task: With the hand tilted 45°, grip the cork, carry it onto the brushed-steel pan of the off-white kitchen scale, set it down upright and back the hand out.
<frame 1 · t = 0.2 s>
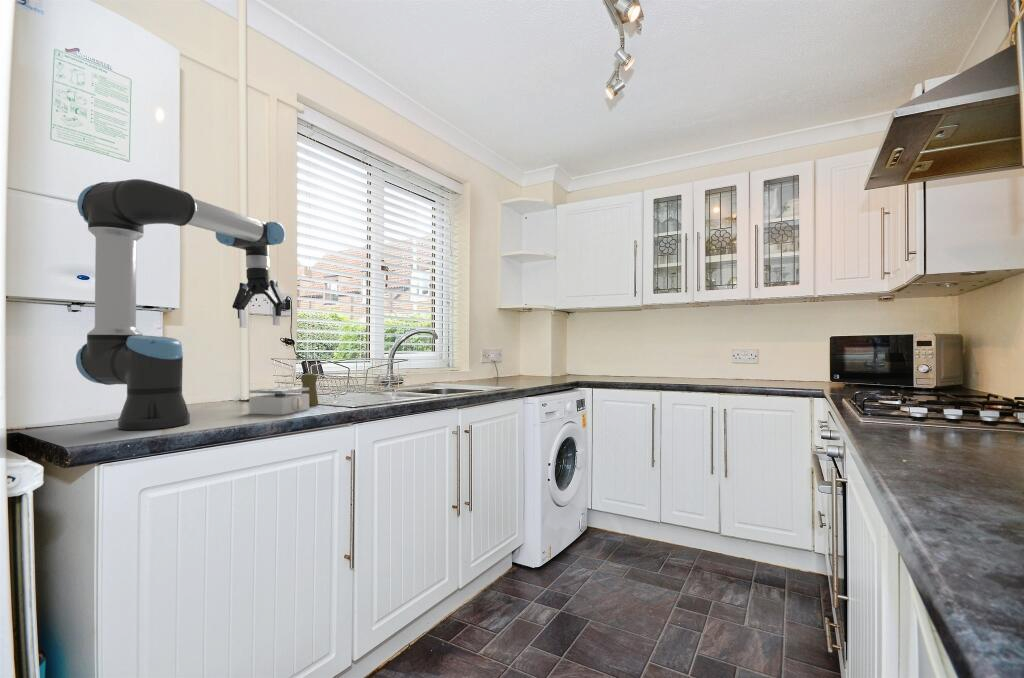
hand: (259, 326, 177), 28 cm above the countertop, tool pointing down, fingers open, 13 cm apart
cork: (309, 406, 167), on the countertop
scale pan: (280, 390, 153), point 7 cm above the countertop, slide at 0.6 cm
kitchen scale: (280, 411, 152), on the countertop
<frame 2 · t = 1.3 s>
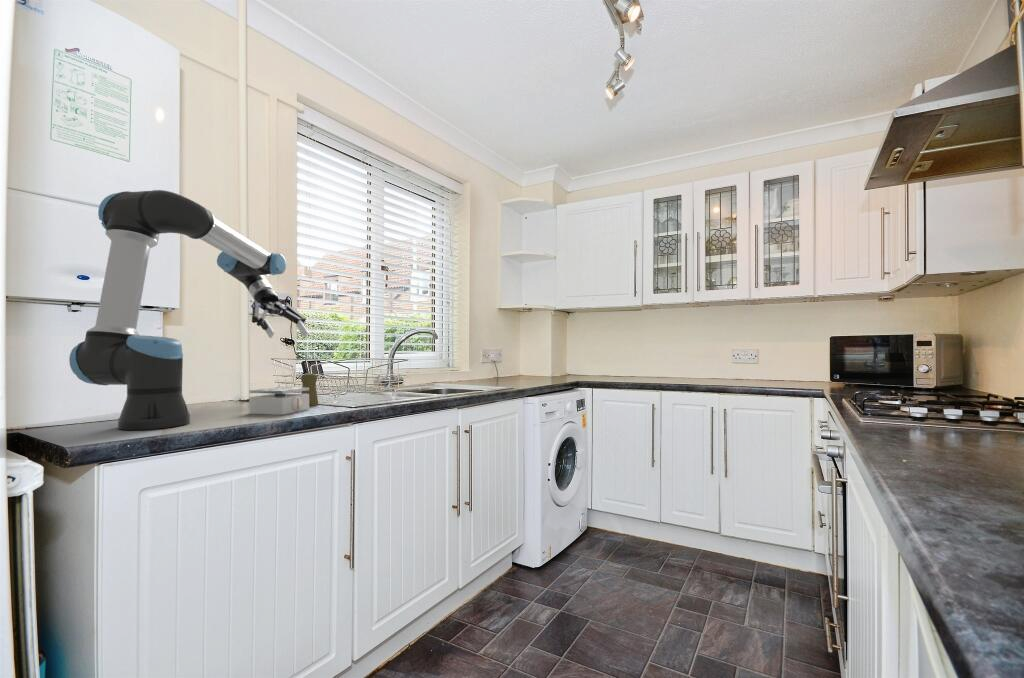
hand: (290, 335, 173), 24 cm above the countertop, tool tilted 45°, fingers open, 13 cm apart
nothing on the countertop moved.
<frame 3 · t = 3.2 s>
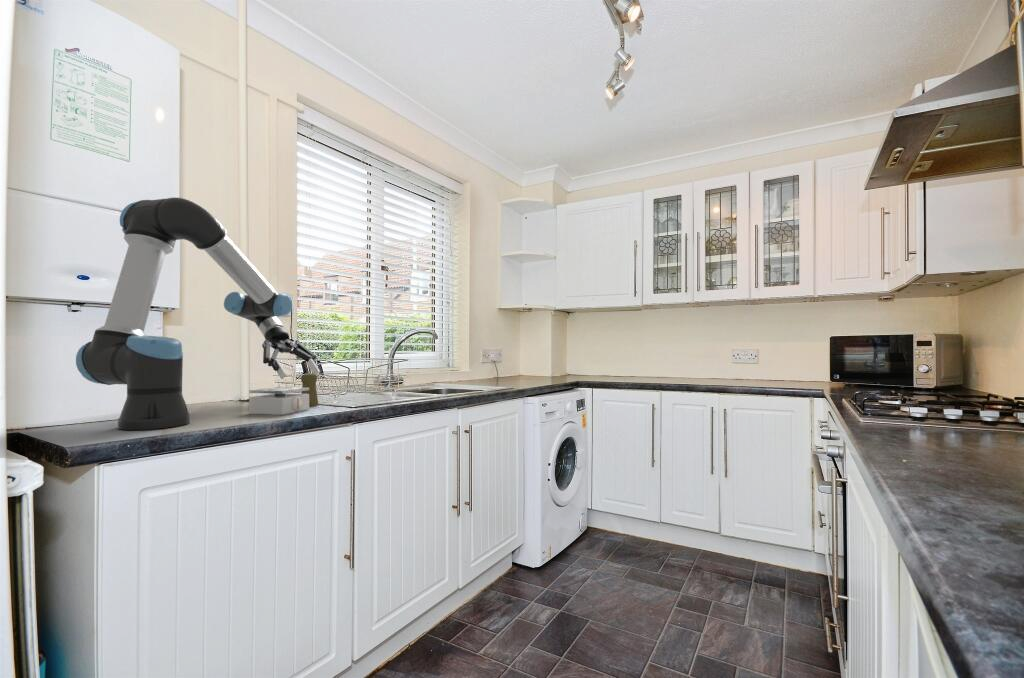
hand: (301, 375, 171), 10 cm above the countertop, tool tilted 45°, fingers open, 13 cm apart
nothing on the countertop moved.
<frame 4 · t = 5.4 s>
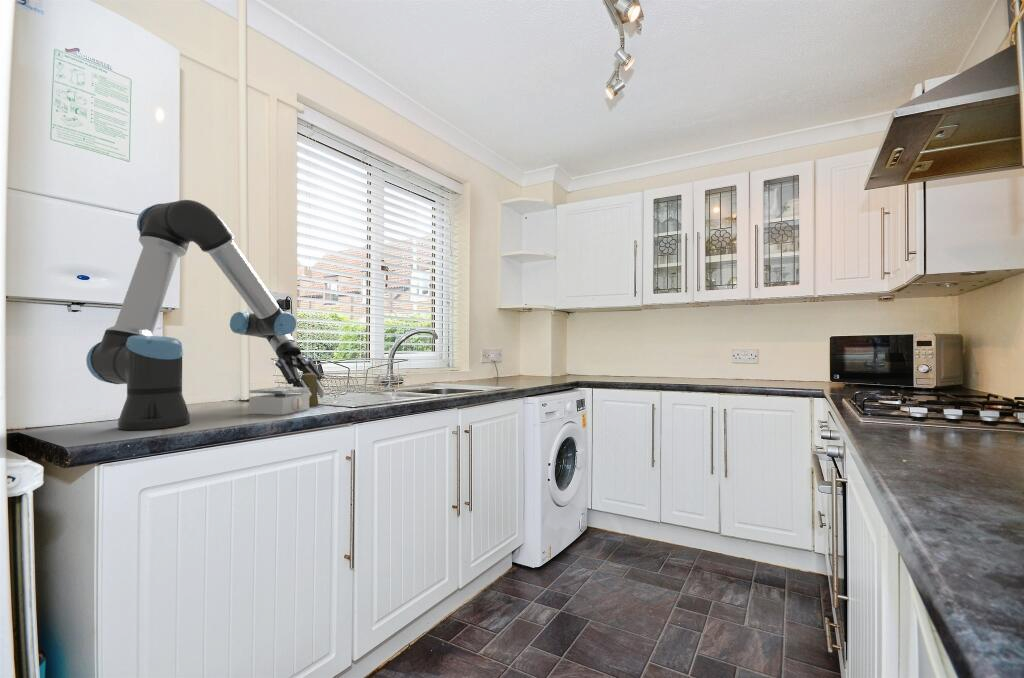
hand: (316, 396, 165), 3 cm above the countertop, tool tilted 45°, fingers closed on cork, 5 cm apart
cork: (309, 405, 167), on the countertop, touching gripper
everything else where it was.
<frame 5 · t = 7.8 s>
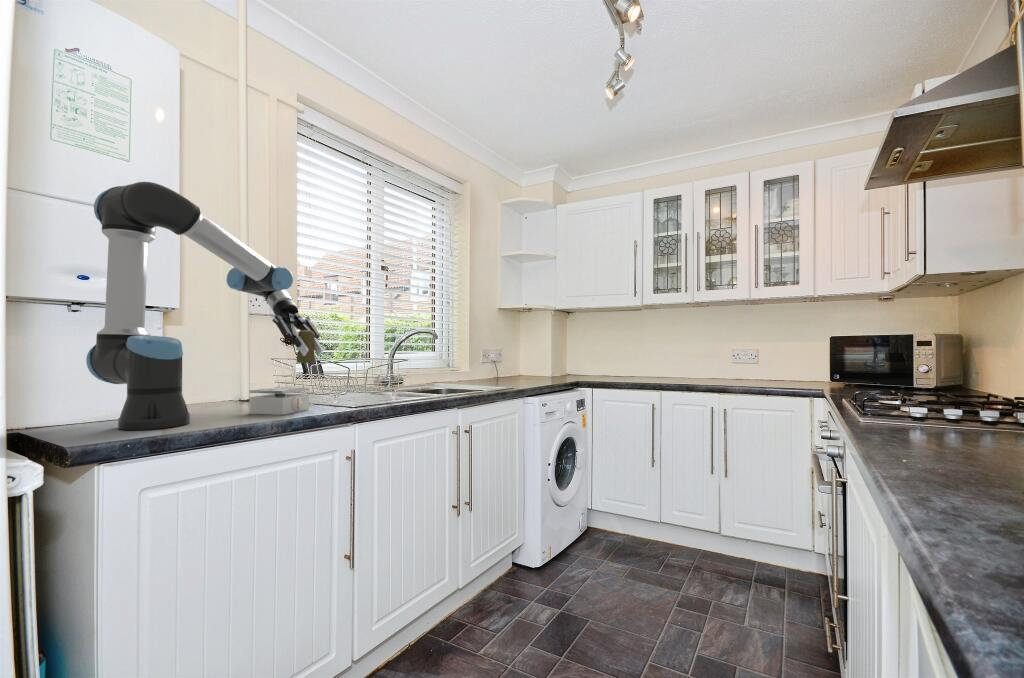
hand: (313, 352, 164), 18 cm above the countertop, tool tilted 45°, fingers closed on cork, 5 cm apart
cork: (306, 363, 166), point 15 cm above the countertop, touching gripper
everything else where it was.
when the fingers open (12 cm above the countertop, at t = 10.4 s): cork drops 2 cm, resting on scale pan.
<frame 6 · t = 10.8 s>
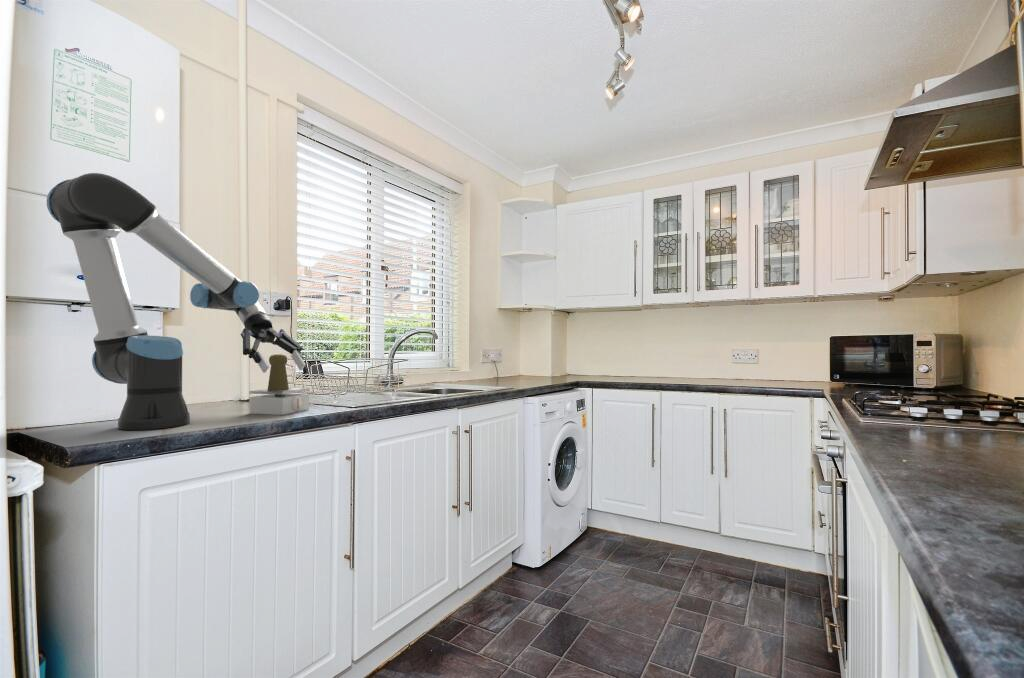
hand: (285, 368, 151), 13 cm above the countertop, tool tilted 45°, fingers open, 12 cm apart
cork: (278, 390, 152), point 7 cm above the countertop, touching scale pan
scale pan: (280, 390, 153), point 6 cm above the countertop, slide at 0.7 cm, touching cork
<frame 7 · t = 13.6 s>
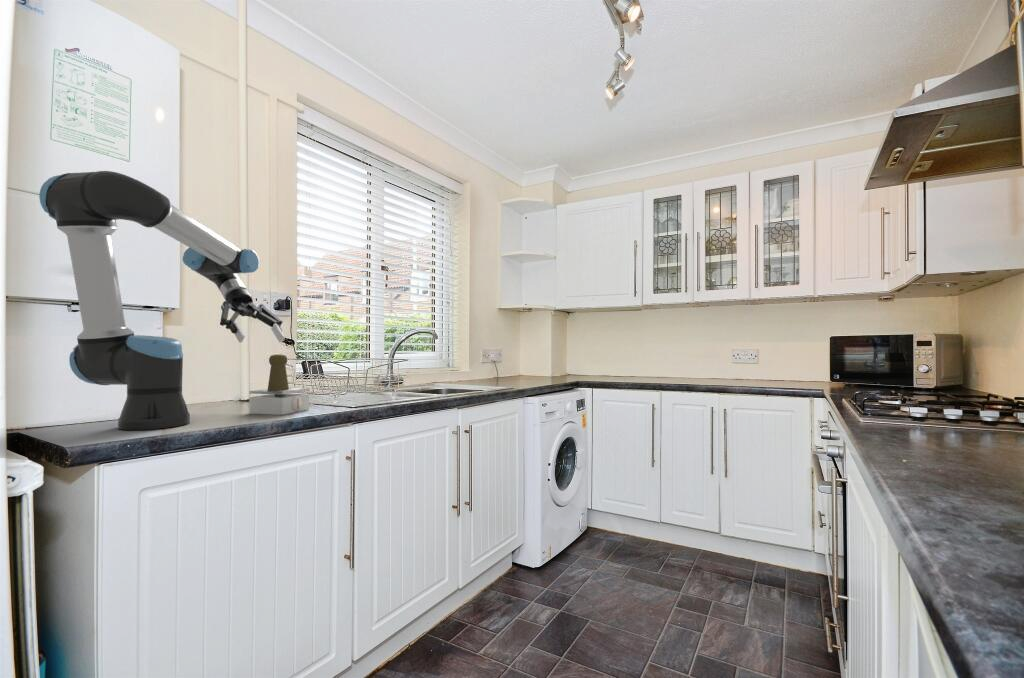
hand: (263, 339, 158), 23 cm above the countertop, tool tilted 45°, fingers open, 13 cm apart
nothing on the countertop moved.
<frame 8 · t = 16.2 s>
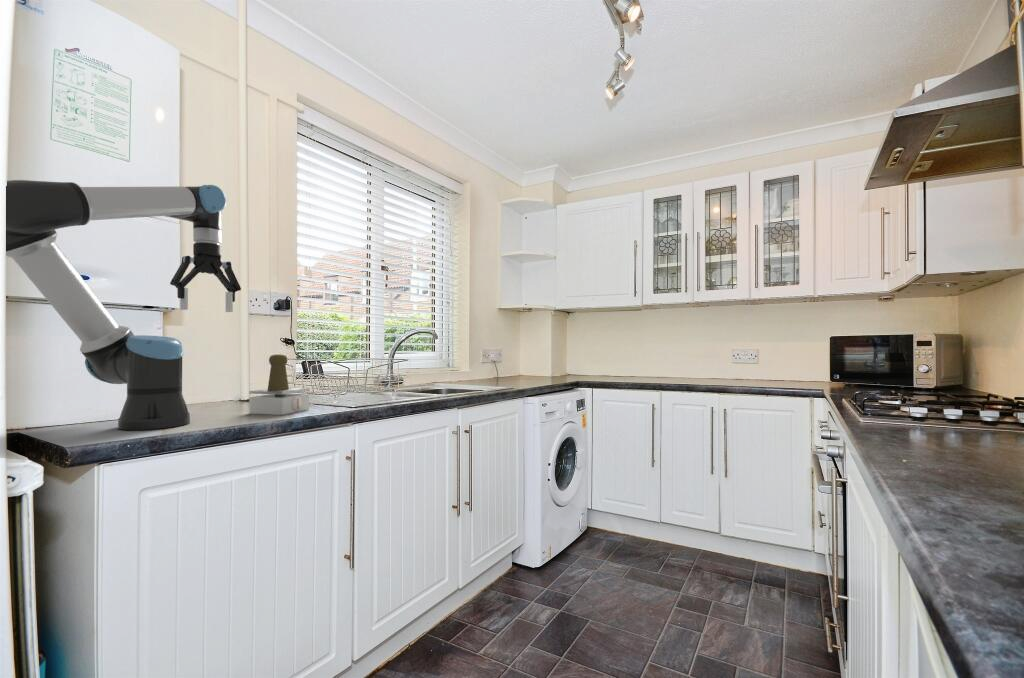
hand: (207, 311, 154), 32 cm above the countertop, tool pointing down, fingers open, 13 cm apart
nothing on the countertop moved.
at the end: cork 0.5 cm off-centre on the kitchen scale, point 6.7 cm above the kitchen scale's base; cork tilted 0°; the gripper is holding nothing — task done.
